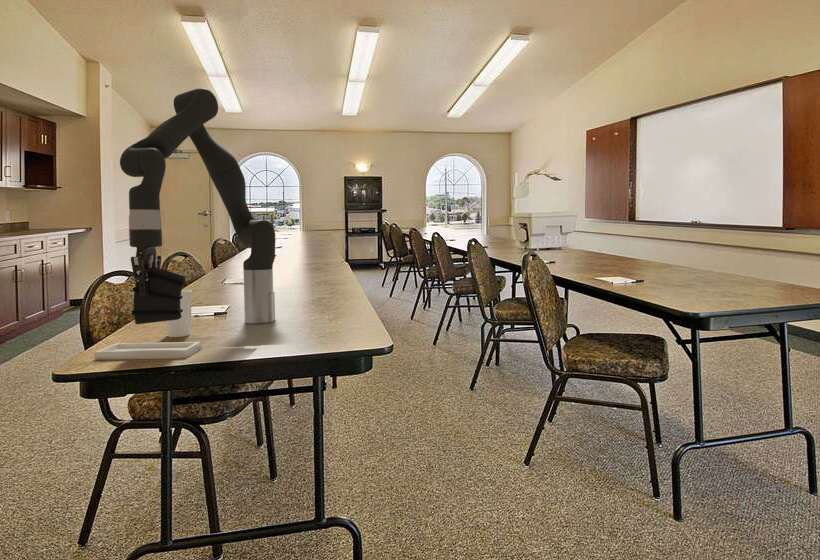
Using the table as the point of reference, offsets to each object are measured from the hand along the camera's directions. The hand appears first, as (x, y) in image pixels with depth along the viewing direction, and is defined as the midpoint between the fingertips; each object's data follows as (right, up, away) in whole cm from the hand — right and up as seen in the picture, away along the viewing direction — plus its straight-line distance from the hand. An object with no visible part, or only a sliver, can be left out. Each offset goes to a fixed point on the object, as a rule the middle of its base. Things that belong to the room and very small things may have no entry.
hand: (148, 295), depth 146 cm
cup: (-1, -14, +23) cm, 27 cm away
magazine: (0, -8, +1) cm, 8 cm away
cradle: (0, -15, +1) cm, 15 cm away
